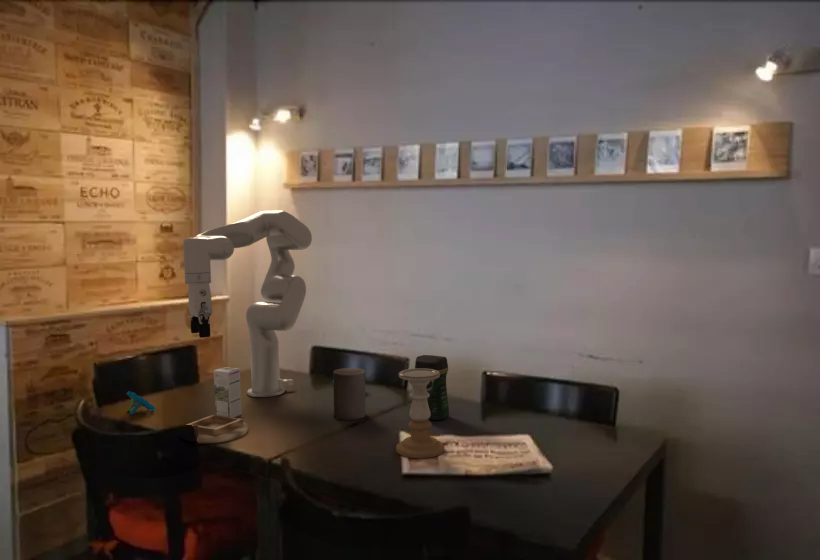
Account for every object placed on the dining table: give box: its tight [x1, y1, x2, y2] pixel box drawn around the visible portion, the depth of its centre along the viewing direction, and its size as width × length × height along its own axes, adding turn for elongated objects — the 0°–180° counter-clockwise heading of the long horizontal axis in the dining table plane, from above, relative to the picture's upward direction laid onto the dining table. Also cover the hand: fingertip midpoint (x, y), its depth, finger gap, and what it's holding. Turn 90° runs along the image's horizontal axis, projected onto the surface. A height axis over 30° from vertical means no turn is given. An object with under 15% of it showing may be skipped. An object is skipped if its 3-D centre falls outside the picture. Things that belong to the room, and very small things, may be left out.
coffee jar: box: [414, 354, 450, 421], centre depth 204 cm, size 10×8×19 cm
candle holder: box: [395, 368, 445, 459], centre depth 174 cm, size 12×12×20 cm
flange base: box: [185, 414, 249, 444], centre depth 192 cm, size 18×18×4 cm
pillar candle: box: [332, 366, 367, 421], centre depth 207 cm, size 10×10×15 cm
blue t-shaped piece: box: [126, 390, 156, 416], centre depth 214 cm, size 11×6×10 cm
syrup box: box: [213, 366, 242, 418], centre depth 209 cm, size 6×6×14 cm
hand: (200, 334), depth 209 cm, fingers open, 9 cm apart
